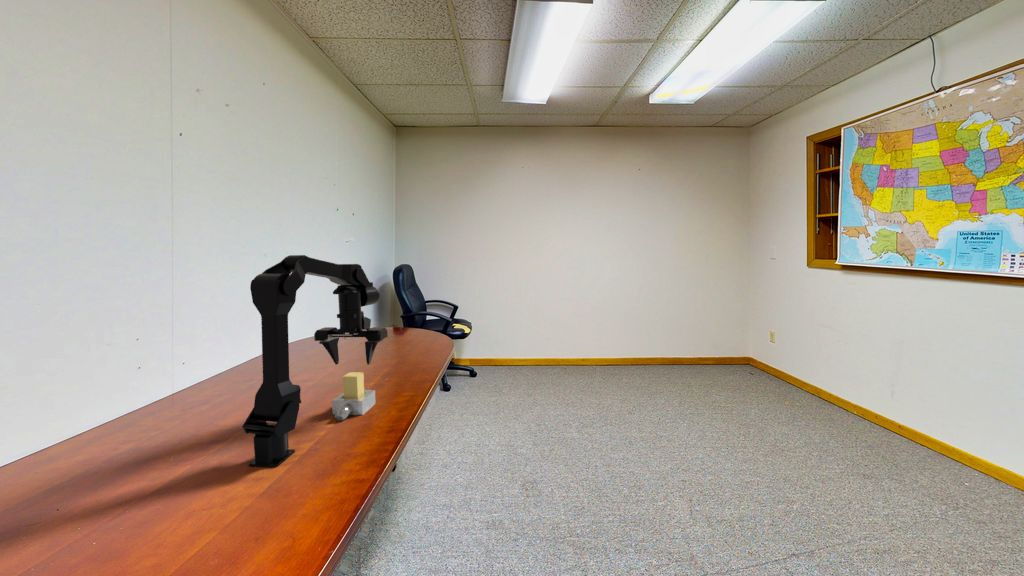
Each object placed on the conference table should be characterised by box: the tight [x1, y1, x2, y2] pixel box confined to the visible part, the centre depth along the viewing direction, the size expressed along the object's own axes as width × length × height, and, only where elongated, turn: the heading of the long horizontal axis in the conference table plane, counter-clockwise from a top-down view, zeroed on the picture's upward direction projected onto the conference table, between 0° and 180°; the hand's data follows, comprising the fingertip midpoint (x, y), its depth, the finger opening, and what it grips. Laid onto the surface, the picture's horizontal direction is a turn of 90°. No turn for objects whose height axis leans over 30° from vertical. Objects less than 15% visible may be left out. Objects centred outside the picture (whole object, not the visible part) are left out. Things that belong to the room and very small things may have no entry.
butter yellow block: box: [342, 371, 365, 399], centre depth 114 cm, size 4×4×10 cm
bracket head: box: [331, 388, 377, 422], centre depth 114 cm, size 16×8×4 cm, turn 176°
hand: (352, 364), depth 113 cm, fingers open, 9 cm apart
